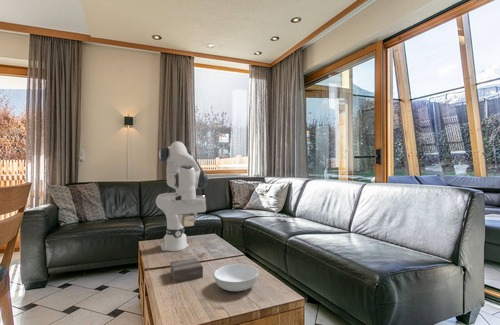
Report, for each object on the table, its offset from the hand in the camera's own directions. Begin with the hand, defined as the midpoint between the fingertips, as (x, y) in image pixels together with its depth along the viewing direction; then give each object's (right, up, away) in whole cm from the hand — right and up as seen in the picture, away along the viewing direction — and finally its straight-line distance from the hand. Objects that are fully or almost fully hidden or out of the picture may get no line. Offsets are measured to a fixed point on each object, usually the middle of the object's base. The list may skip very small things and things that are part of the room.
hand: (187, 222), depth 141 cm
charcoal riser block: (0, -28, -1) cm, 28 cm away
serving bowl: (+27, -27, -15) cm, 41 cm away
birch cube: (0, -2, 0) cm, 2 cm away
